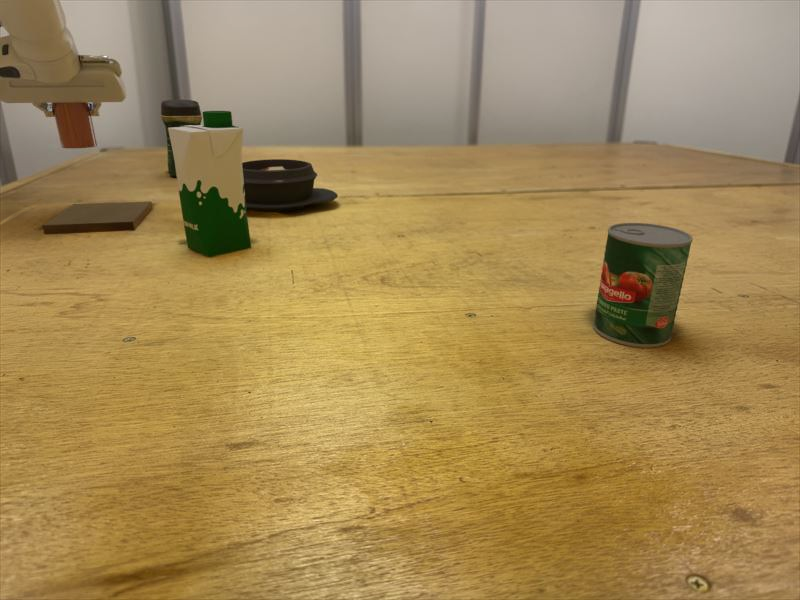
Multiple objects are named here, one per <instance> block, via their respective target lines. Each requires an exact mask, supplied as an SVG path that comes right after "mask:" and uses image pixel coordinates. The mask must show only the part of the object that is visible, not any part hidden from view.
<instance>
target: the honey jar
mask: <svg viewBox="0 0 800 600" xmlns="http://www.w3.org/2000/svg"><path fill="white" fill-rule="evenodd" d="M88 103H90V102H76V103H51V104H52V107H53V111H54V116H55V117H54V120H55V125H56V130H57V133H58V137H59V142H60V147H61V148H62V149H88V148H95V147H98V143H97V137H96V133H95V128H94V123H93V116H90V113H89V106H88Z"/></svg>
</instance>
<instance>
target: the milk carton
mask: <svg viewBox="0 0 800 600" xmlns="http://www.w3.org/2000/svg"><path fill="white" fill-rule="evenodd" d="M201 114H202V120H203V121H202V122H203V124H201V125H186V126H184V127H172V128H168V131H169V136H170V141H171V145H172V150H173V155H174V161H175V168H176V175H177V177H176V180H177V181H176V182H177V187H178V195H179V201H180V209H181V214H182V223H183V228H184V234H185V238H186V239H185V241H186V246H187V248H189V249H191V250H193V251H195V252H197V253H199V254H201V255H203V256H205V257H207V258H212V257H215V256H221V255H226V254H231V253H235V252H239V251H245V250H249V249H251V248H252V244H251V243H252V242H251V236H250V228H249V220H248V219H249V218H248V209H247V208H246V199H245V189H244V179H243V168H242V163H243V158H242V154H243V152H242V151H243V138H244V129H243V127H239V126H235V125H233V116H232V111H230V110H206V111H201Z"/></svg>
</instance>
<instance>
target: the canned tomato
mask: <svg viewBox="0 0 800 600" xmlns="http://www.w3.org/2000/svg"><path fill="white" fill-rule="evenodd" d="M693 240H694V238H693V236H692V235H691V234H690V233H689V232H686V231H684V230H682V229H679V228H675V227H672V226H667V225H662V224H656V223H647V222H619V223H615V224H611V225H610V226H609V227H608V229H607V238H606V242H605V250H604V257H603V261H602V267H601V272H600V273H601V274H600V281H599V286H598V294H597V300H596V307H595V314H594V319H593V323H592V327H593V329H594V330H595V332H596V333H597V334H598V335H599V336H601V337H603V338H604V339H606V340H608V341H611V342H614V343H616V344H619V345H623V346H627V347H633V348H642V349H644V348H645V349H648V348H649V349H651V348H658V347H659V348H660V347H663V346H665V345H667V344H668V343H670V342H671V339H672V333H673V329H674V325H675V319H676V316H677V310H678V306H679V302H680V296H681V294H682V293H681V292H682V289H683V283H684V279H685V274H686V269H687V266H688V259H689V257H690V251H691V246H692V242H693Z"/></svg>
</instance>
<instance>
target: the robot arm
mask: <svg viewBox="0 0 800 600" xmlns="http://www.w3.org/2000/svg"><path fill="white" fill-rule="evenodd" d="M66 24H67V18H66V14H65V11H64V9H63V6H62V4H61V1H60V0H0V28H3V29H4V30H5V31H6V32H7V33H8V35H5V36H1V37H0V101H1V102H3V103H5V104H32V106H33V107H35V108H36V109H38V110H39V111H41V112H43V113H44V115H45V117H46V118H55V116H54V111H53V107H52V103H76V102H89V103H88V106H89V113H90V116H91V117H100V108H101V107H102V103H122V102H124V101H125V99H126V98H127V92H126V91H127V90H126V84H125V81H124V79H123V76H122V73H123V70H122V66H121V63H120V62H119V61H118V60H116V59H114V58H111V57H109V56H108V55H89V54H88V55H86V54H85V55H83V54H79V50H78V49H77V46H76V43H75V41H74V37H73V35H72V33H71V31H70V30H69V28H68V27H67V25H66Z"/></svg>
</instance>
